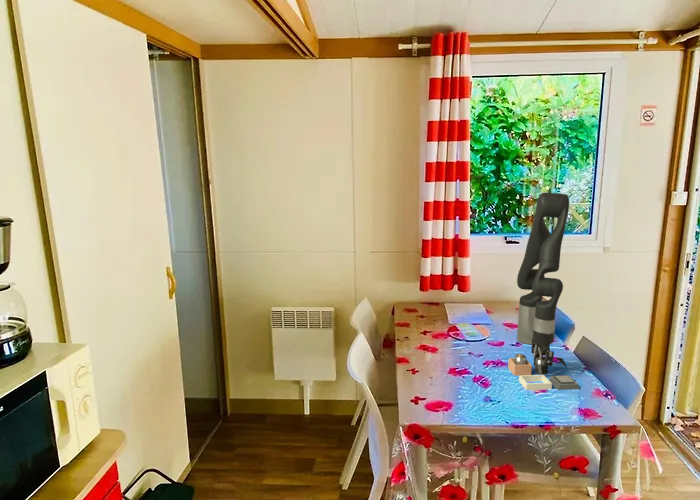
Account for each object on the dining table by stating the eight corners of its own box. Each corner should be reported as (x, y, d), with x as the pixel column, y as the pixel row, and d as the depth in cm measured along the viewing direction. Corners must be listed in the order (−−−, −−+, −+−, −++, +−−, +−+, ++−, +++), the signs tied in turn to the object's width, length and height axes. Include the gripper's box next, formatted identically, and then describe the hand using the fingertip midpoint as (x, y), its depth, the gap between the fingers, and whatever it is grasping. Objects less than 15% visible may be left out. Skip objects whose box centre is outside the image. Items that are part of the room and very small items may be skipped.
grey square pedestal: (548, 382, 182) (548, 375, 181) (569, 382, 182) (569, 375, 182) (557, 391, 175) (557, 384, 174) (579, 391, 175) (579, 384, 175)
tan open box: (508, 370, 192) (508, 358, 191) (523, 369, 193) (524, 357, 192) (514, 377, 186) (515, 365, 185) (530, 377, 186) (531, 364, 185)
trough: (518, 383, 182) (519, 375, 181) (542, 382, 182) (543, 374, 182) (526, 392, 175) (526, 384, 174) (551, 391, 176) (552, 383, 175)
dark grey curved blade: (562, 357, 202) (570, 373, 187) (562, 360, 202) (569, 376, 188) (542, 356, 203) (548, 371, 189) (542, 358, 204) (548, 374, 189)
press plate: (554, 378, 180) (555, 376, 180) (566, 378, 181) (567, 375, 180) (560, 384, 176) (561, 381, 176) (573, 384, 176) (573, 381, 176)
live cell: (532, 372, 191) (534, 355, 189) (542, 371, 191) (544, 355, 189) (537, 376, 187) (538, 359, 185) (547, 376, 187) (548, 359, 185)
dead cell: (512, 369, 191) (513, 352, 189) (522, 369, 191) (523, 352, 190) (516, 374, 187) (517, 357, 186) (526, 373, 187) (527, 356, 186)
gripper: (526, 322, 192) (523, 362, 195) (542, 336, 178) (539, 379, 181) (545, 322, 192) (541, 362, 196) (562, 335, 178) (558, 378, 182)
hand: (540, 370), depth 188 cm, fingers open, 6 cm apart
